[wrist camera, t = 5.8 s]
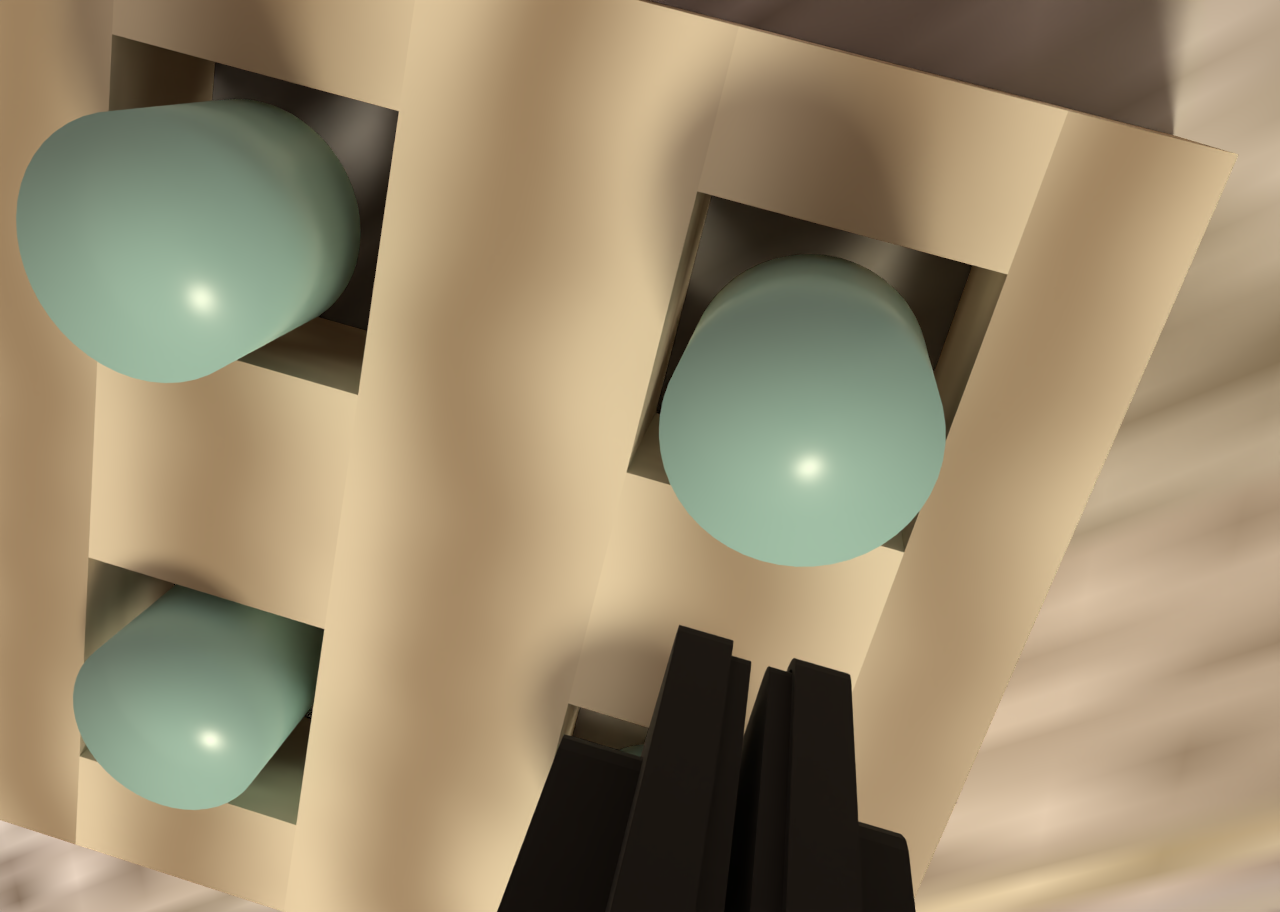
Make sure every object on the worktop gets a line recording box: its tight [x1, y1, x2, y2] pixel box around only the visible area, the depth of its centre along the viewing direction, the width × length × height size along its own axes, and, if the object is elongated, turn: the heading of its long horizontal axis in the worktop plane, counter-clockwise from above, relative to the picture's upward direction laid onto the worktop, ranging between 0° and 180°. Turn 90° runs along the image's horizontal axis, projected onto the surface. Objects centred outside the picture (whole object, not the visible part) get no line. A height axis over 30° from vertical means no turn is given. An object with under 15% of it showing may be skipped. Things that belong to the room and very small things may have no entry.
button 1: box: [16, 98, 361, 383], centre depth 21 cm, size 5×5×4 cm
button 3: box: [659, 254, 946, 567], centre depth 21 cm, size 5×5×4 cm
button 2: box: [73, 584, 324, 810], centre depth 28 cm, size 5×5×4 cm
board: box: [0, 0, 1238, 912], centre depth 26 cm, size 24×24×4 cm
